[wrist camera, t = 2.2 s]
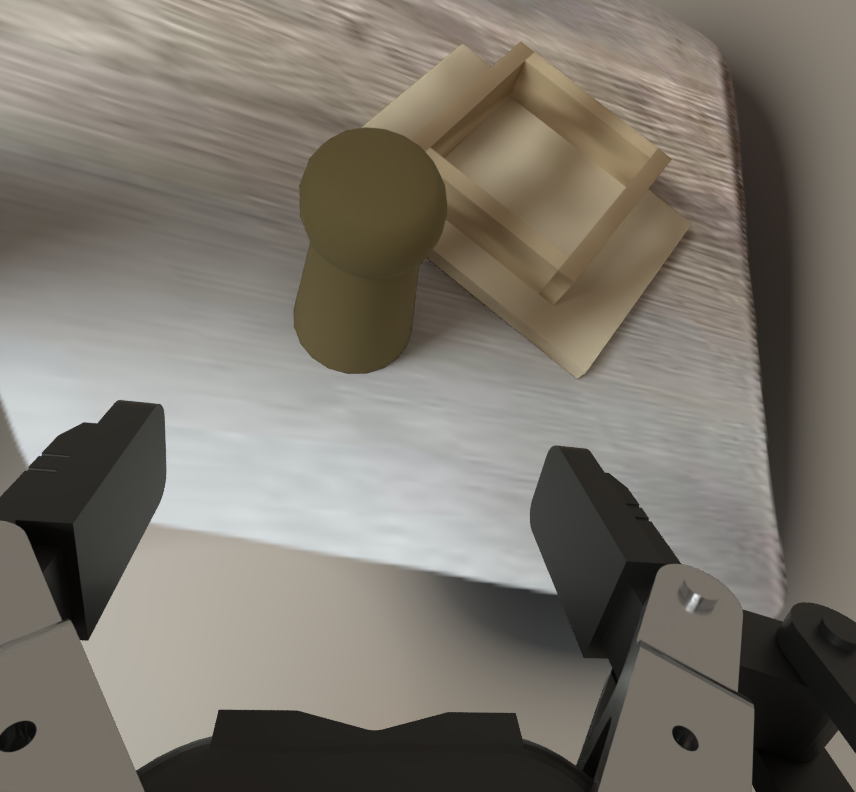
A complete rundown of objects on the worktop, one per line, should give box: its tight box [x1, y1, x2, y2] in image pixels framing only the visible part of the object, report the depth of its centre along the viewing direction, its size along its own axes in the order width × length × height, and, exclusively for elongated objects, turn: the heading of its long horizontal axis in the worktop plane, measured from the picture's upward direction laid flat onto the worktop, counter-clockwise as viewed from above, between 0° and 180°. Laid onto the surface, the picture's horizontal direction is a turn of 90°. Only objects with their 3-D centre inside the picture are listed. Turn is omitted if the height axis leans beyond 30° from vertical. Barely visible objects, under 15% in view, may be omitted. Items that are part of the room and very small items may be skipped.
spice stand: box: [361, 42, 692, 379], centre depth 31 cm, size 18×13×4 cm
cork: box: [294, 127, 447, 374], centre depth 23 cm, size 6×6×11 cm
